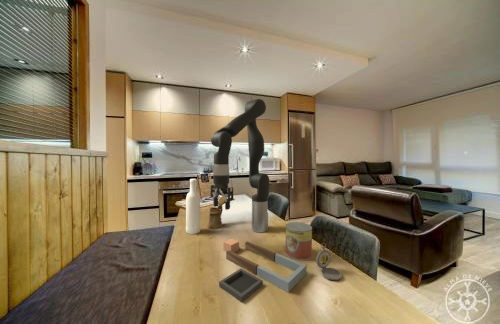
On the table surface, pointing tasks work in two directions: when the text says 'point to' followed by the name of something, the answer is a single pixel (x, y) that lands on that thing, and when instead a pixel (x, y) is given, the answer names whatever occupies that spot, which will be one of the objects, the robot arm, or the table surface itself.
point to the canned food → (298, 240)
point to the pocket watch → (327, 272)
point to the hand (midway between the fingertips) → (221, 207)
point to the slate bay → (279, 280)
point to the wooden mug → (216, 215)
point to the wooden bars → (247, 263)
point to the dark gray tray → (241, 284)
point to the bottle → (193, 209)
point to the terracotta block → (231, 245)
